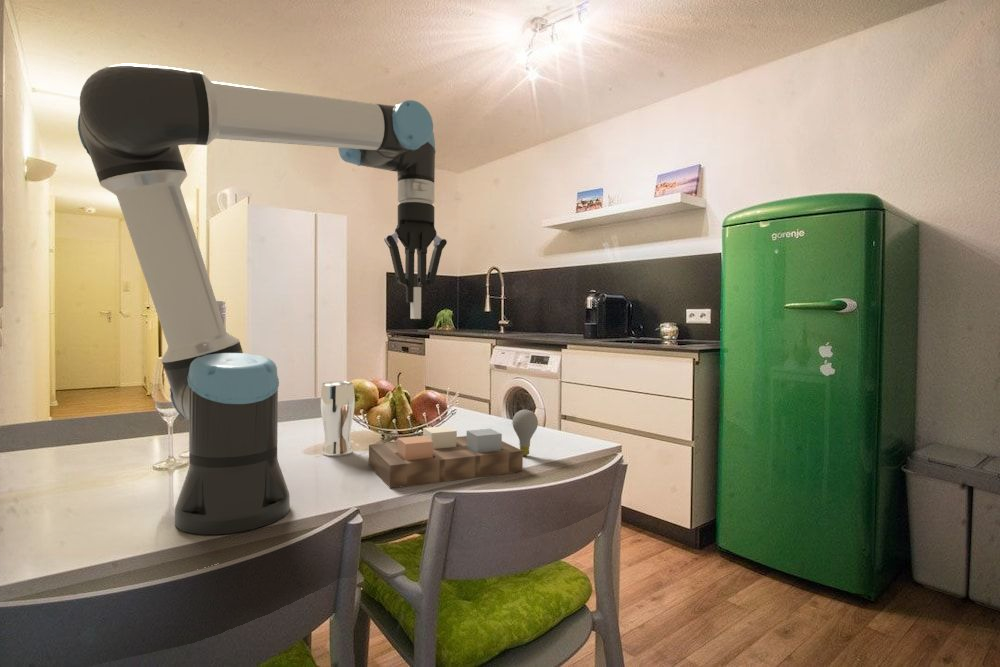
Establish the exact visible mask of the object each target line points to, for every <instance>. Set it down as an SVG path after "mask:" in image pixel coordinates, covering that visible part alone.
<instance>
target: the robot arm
mask: <svg viewBox="0 0 1000 667" xmlns="http://www.w3.org/2000/svg"><path fill="white" fill-rule="evenodd" d="M79 108H80V109H79V115H78V119H77V131H78V135H79V139H80V142H81V144H82V146H83V148H84V150H85V151H86V153H87V154H88V155H89V157H90V159H91V163H92V165H93V168H94V170H95V173H96V177H97V179H98V182H99V184H100V185H99V186H101V187H102V188H103V189H106V190H107V191H108V192H110V193H112V194H113V195H115V196H116V198H117V201H118V204H119V207H120V209H121V213H122V215H123V219H124V221H125V224H126V227H127V230H128V233H129V236H130V239H131V241H132V245H133V247H134V251H135V254H136V256H137V259H138V262H139V265H140V269H141V271H142V274H143V277H144V279H145V283H146V285H147V289H148V292H149V294H150V298H151V299H152V300H151V301H152V303H153V305H154V310H155V312H156V315H157V317H158V320H159V323H160V326H161V329H162V332H163V335H164V338H165V340H166V344H167V349H166V351H165V352H164V354H163V356H162V357H161V358H160V360H161V363H162V367H163V369H164V372H165V375H166V378H167V381H168V384H169V386H170V387H169V392H170V401H171V403H172V406H173V407H174V409H175V411H176V412H177V413H178V414H179V416H180V417H182V418H183V419H184V420H186V421H187V422H188V450H189V451H188V452H189V456H188V457H189V458H188V461H189V462H188V464H189V465H188V470H187V473H186V476H185V478H184V482H183V485H182V487H181V491H180V493H179V496H178V499H177V501H176V505H175V508H174V525H175V527H176V528H177V529H178V530H180V531H183V532H184V533H189V534H197V535H222V534H223V535H225V534H234V533H235V534H236V533H240V532H245V531H250V530H254V529H258V528H261V527H265V526H267V525H270V524H272V523H274V522H277V521H279V520H280V519H282V518H284V517H285V516H286V515H287V514H288V513H289V511H290V510H291V509H290V507H291V505H290V504H291V502H290V492H289V491H290V490H289V488H288V485H287V483H286V480H285V478H284V473H283V472H282V469H281V466H280V462H279V459H278V429H279V428H278V422H279V420H278V418H279V417H278V416H279V415H278V411H279V409H278V408H279V407H278V404H279V403H278V402H279V401H278V400H279V396H278V395H279V393H278V392H279V391H278V390H279V386H280V385H279V384H280V381H279V376H278V367H277V364H276V362H274V361H273V360H272V359H271V358H269V357H267V356H263V355H259V354H256V355H255V354H251V353H246V352H245V353H244V351H243V348H242V345H241V341H240V339H239V338H237V337H236V336H233V335H232V334H230V333H228V332H227V330H226V327H225V325H224V322H223V318H222V315H221V311H220V309H219V304H218V302H217V299H216V296H215V293H214V289H213V286H212V283H211V280H210V277H209V274H208V271H207V267H206V264H205V261H204V258H203V255H202V252H201V249H200V246H199V242H198V239H197V236H196V233H195V230H194V227H193V224H192V221H191V218H190V214H189V211H188V208H187V205H186V202H185V198H184V196H183V193H182V189H181V186H182V184H183V183H184V181H185V180H186V178H187V177H188V172H187V170H186V167H185V162H184V160H183V156H182V154H181V150H180V147H179V146H184V145H185V146H187V145H191V146H192V145H198V146H199V145H200V146H208V145H209V144H211V142H213V141H214V140H216V139H217V140H218V139H219V140H231V141H232V140H233V141H244V142H246V141H247V142H256V143H257V142H259V143H271V144H284V145H287V144H288V145H296V146H297V145H298V146H299V145H300V146H314V147H324V148H325V147H327V148H338V154H339V157H340V158H341V160H342V161H343V162H346V163H349V164H353V165H356V166H358V167H360V166H362V167H367V168H373V169H378V170H384V171H390V172H396V173H397V202H398V205H397V225H396V228H395V230H394V232H393V233H392V234H388V235H387V236H385V237H384V242H385V244H386V246H387V247H388V249H389V254H390V256H391V261H392V265H393V269H394V274H395V278H396V282H397V284H401V285H403V286H404V287H405V301H406V303H410V304H409V305H410V309H409V310H410V316H409V317H410V319H411V320H412V319H413V320H417V319H418V320H422V303H424V304H425V303H426V301H427V300H426V299H427V297H426V294H427V293H426V291H427V290H426V289H427V287H428V286H430V285H433V284H435V281H436V278H437V273H438V270H439V266H440V265H439V264H440V261H441V257H442V252H443V251H444V250H443V249H444V248H445V247H446V245H447V243H448V242H447V239H445V238H442V237H440V236H439V235H438V234H437V233H438V232H437V230H436V228H435V206H434V205H433V204H434V203H435V174H436V173H435V170H436V168H435V166H436V158H435V157H436V144H435V142H436V141H435V133H434V122H433V117H432V115H431V113H430V111H429V110H428V109H427V107H426V106H425V105H424V104H422V103H421V102H420V101H417V100H414V99H410V100H409V99H407V100H405V101H400V102H399V103H397V104H395V105H390V104H382V103H372V102H366V101H365V102H364V101H358V100H357V101H356V100H351V99H350V100H349V99H341V98H335V97H327V96H322V95H321V96H320V95H312V94H307V93H306V94H304V93H298V92H290V91H283V90H278V89H277V90H276V89H270V88H269V89H268V88H262V87H255V86H248V85H239V84H233V83H226V82H219V81H218V82H217V81H212V80H210V79H209V78H208V77H207V75H205V74H204V73H203V72H202V71H196V70H191V69H190V70H189V69H184V68H183V69H182V68H176V67H168V66H161V65H160V66H159V65H152V64H149V65H148V64H141V63H140V64H139V63H120V64H114V65H109V66H105V67H103V68H100V69H99V70H97V71H95V72H94V73H93V74H91V75H90V76H89V77H88V78H87V79H86V81H85V83H84V84H83V86H82V88H81V91H80V95H79ZM399 242H401V244H402V246H403V247H404V255H405V259H404V260H405V265H404V266H405V267H403V262H402V258H401V255H400V250H399V245H398V243H399ZM432 242H433V244H432ZM431 244H432V245H433V250H432V253H431V257H430V262H429V266H428V270H427V254H428V248H429V246H430V245H431ZM415 253H416V256H417V261H416V262H417V266H416V267H417V268H416V269H417V270H416V271H417V277H416V278H417V286H414V285H415ZM404 268H405V269H404ZM404 271H405V272H404Z"/></svg>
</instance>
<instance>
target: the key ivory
mask: <svg viewBox="0 0 1000 667" xmlns="http://www.w3.org/2000/svg"><path fill="white" fill-rule="evenodd" d="M457 431H458V430H456V429H454V428H452V427H450V426H448V425H444V426H433V427H431V426H430V427H423V428H422V432H423V434H422V436H425V437H427V438H429V439H430V440H432V441H433V449H438V448H448V447H456V444H457V437H458V436H457V435H458V433H457Z"/></svg>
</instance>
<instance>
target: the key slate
mask: <svg viewBox="0 0 1000 667" xmlns="http://www.w3.org/2000/svg"><path fill="white" fill-rule="evenodd" d="M466 436H467V440H466V448H468V449H470V450H472V451H473V452H475V453H481V452H490V451H499V450H501V449H502V441H503V438H502V436H503V434H502V433H501V432H498V431H496V430H494V429H492V428H484V429H483V428H482V429H472V430H471V429H470V430H466Z"/></svg>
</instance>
